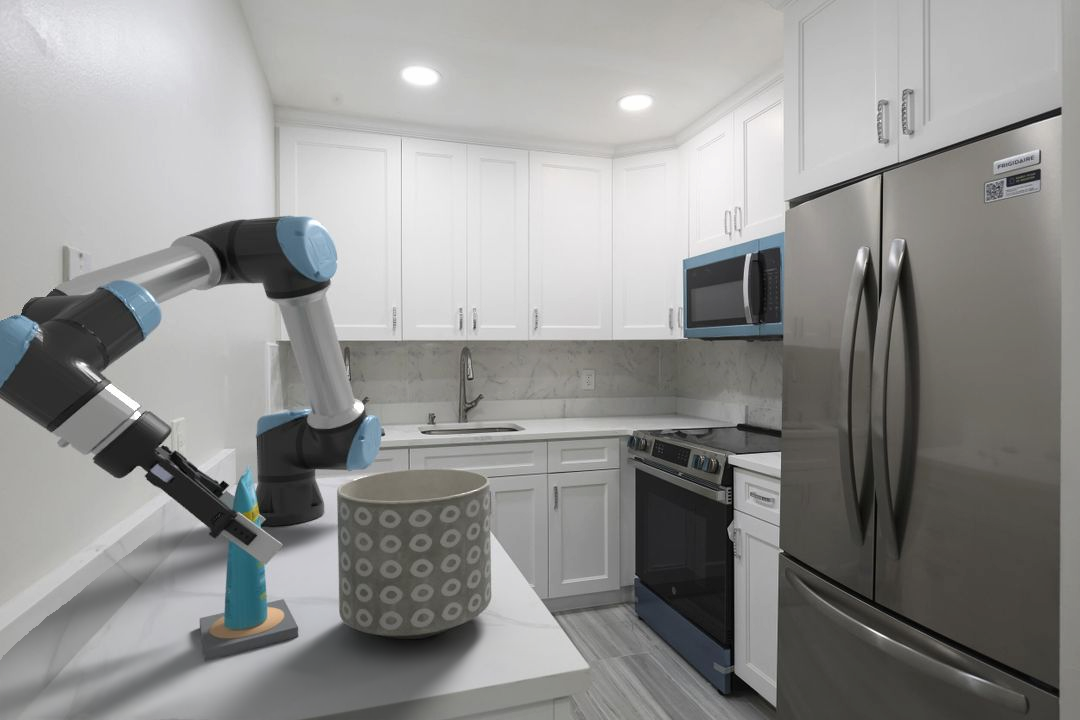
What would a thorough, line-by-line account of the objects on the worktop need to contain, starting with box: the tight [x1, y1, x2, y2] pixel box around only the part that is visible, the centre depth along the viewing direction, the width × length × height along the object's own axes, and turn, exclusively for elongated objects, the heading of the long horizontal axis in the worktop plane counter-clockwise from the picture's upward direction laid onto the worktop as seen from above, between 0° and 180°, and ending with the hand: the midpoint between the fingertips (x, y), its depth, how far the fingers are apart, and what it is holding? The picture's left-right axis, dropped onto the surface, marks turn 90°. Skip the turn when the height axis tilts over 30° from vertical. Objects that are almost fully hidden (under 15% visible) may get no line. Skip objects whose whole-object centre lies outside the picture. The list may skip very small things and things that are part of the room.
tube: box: [224, 464, 268, 630], centre depth 72 cm, size 7×5×19 cm, turn 26°
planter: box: [336, 468, 492, 640], centre depth 74 cm, size 19×19×18 cm
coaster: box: [199, 598, 299, 662], centre depth 72 cm, size 10×10×1 cm
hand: (265, 539), depth 73 cm, fingers open, 13 cm apart
